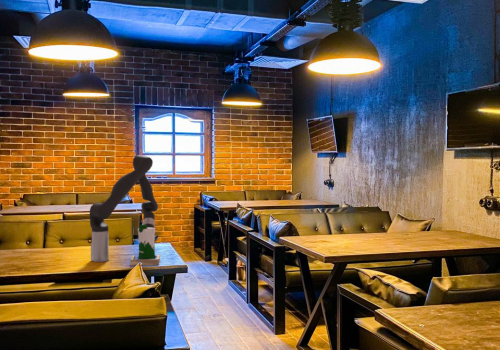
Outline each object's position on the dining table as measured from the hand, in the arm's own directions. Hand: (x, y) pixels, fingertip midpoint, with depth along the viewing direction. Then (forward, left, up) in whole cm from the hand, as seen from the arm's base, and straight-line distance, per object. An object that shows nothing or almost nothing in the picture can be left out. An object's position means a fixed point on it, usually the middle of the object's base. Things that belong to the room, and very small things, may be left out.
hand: (147, 249), depth 299 cm
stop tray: (+13, -16, -4) cm, 21 cm away
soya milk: (+5, -6, -4) cm, 9 cm away
